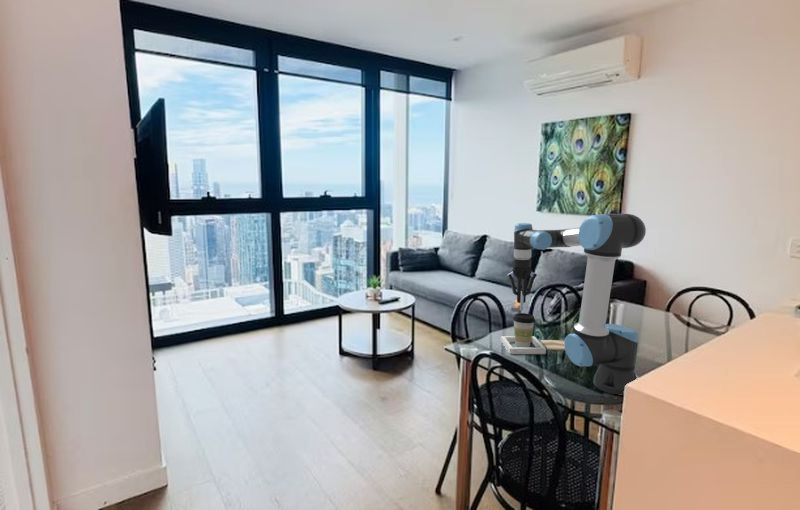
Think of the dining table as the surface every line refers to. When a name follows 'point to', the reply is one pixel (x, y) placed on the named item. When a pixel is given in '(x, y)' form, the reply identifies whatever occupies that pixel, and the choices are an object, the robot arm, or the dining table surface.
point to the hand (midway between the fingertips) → (520, 309)
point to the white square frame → (523, 350)
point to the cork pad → (554, 345)
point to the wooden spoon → (515, 307)
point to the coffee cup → (523, 329)
